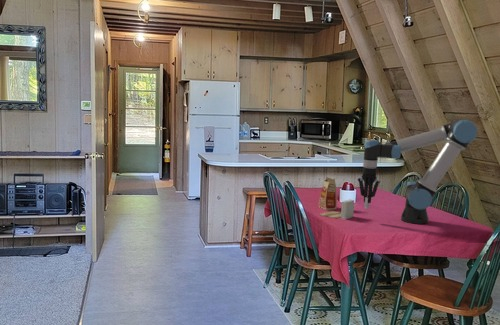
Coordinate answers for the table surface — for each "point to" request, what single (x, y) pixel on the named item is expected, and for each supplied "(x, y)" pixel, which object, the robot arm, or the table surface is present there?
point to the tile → (347, 209)
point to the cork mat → (331, 214)
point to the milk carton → (328, 195)
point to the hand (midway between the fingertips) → (366, 208)
